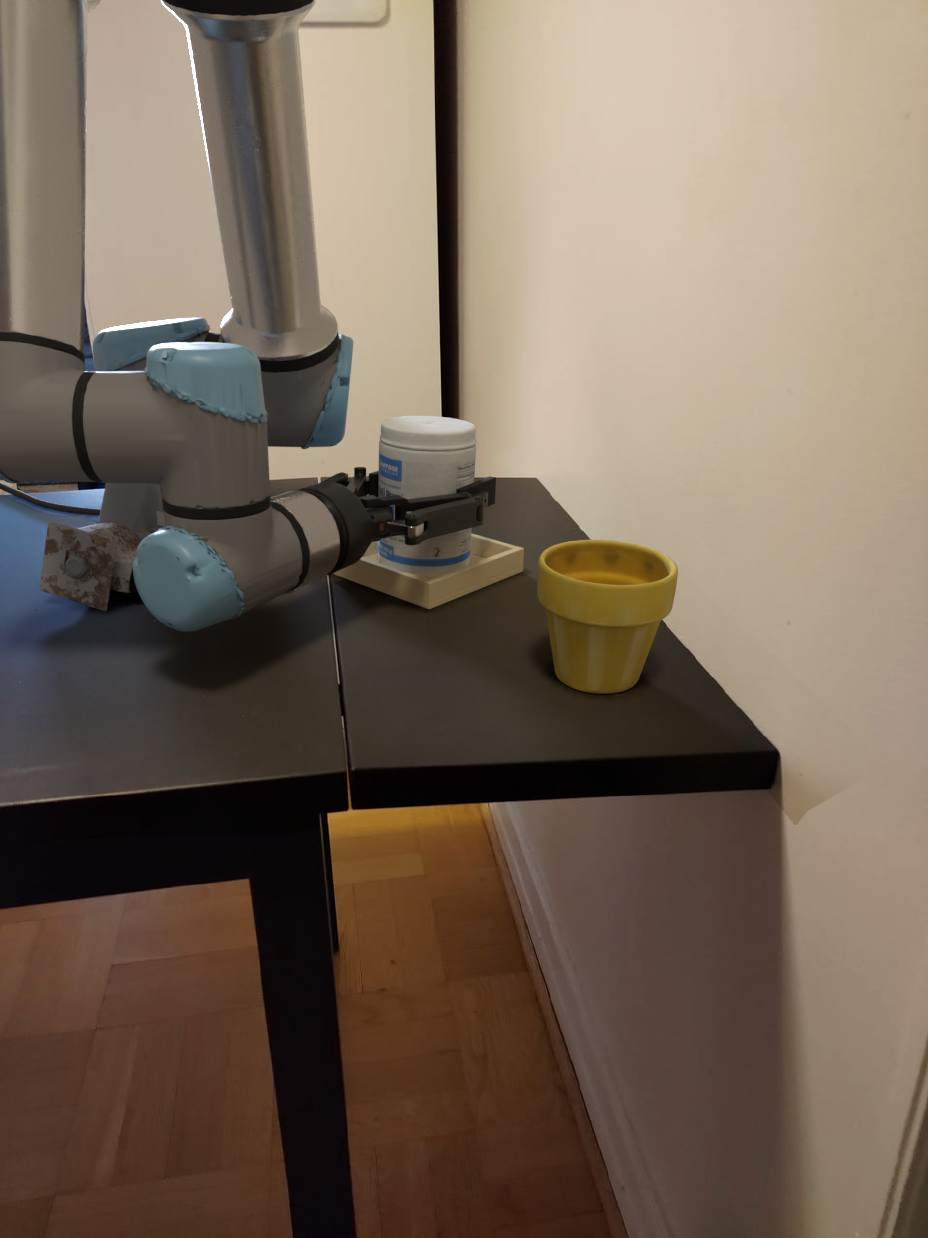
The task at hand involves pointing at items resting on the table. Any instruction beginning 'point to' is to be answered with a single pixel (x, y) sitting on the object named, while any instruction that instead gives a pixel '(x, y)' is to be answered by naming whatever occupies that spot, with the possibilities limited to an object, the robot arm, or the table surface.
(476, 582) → the shallow tray
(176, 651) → the table surface
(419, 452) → the supplement tub
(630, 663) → the flower pot
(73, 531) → the caster wheel
